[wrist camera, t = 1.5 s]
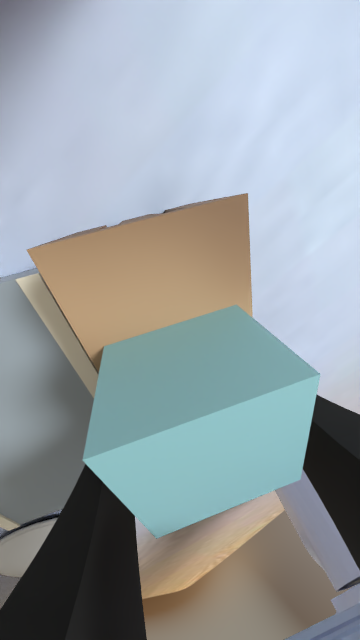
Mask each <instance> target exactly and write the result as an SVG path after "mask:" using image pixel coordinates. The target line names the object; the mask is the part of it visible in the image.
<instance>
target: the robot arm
mask: <svg viewBox="0 0 360 640" xmlns="http://www.w3.org/2000/svg"><path fill="white" fill-rule="evenodd" d="M275 492H276V493H277V495H278V497H279V499H280V501H281V503H282V505H283V507H284V509H285V510H286V512H287V514H288V516H289V518H290V520H291V522H292V524H293V525H294V527H295V529H296V531H297V533H298V535H299V536H300V538H301V540H302V542H303V544H304V546H305V547H306V549H307V551H308V552H309V553H310V555H311V556H312V558H313V559H314V560H315V561H316V562H317V563H318V564H319V565H320V566H321V567H322V568H323V569H324V570H325V572H326V574H327V576H328V578H329V579H330V581H331V583H332V585H333V587H334V588H335V590H336V592H339V591H342V590H345V589H347V588H350V587H352V586H354V587H352V588H351V589H349V590H348V591H346V592H344V593H342V594H341V595H339V596H337V597H335V598H333V599H332V600H331V602H332V604H333V605H334V607H335V609H336V614H335V615H333V616H331V617H329V618H327V619H325V620H323V621H321V622H319V623H317V624H315V625H313V626H311V627H309V628H307V629H305V630H303V631H301V632H299V633H297V634H295V635H293V636H290V637H289V638H286V639H284V640H360V584H359V583H360V415H359V414H357V413H355V412H352V411H350V410H348V409H345V408H343V407H341V406H339V405H337V404H335V403H332V402H330V401H328V400H326V399H324V398H322V397H320V396H318V395H317V394H316V400H315V405H314V410H313V416H312V421H311V426H310V432H309V437H308V442H307V448H306V453H305V458H304V463H303V469H302V474H301V479H300V480H298V481H296V482H293V483H291V484H289V485H286V486H284V487H281V488H279V489H276V490H275ZM357 584H358V585H357ZM355 585H356V586H355ZM0 640H147V639H146V630H145V622H144V613H143V605H142V595H141V585H140V575H139V564H138V553H137V541H136V527H135V515H134V514H133V513H132V512H131V511H130V510H129V509H128V508H127V507H126V506H125V505H124V504H123V503H122V502H121V500H120V499H119V498H118V497H117V496H116V495H115V494H114V493H113V492H112V491H111V490H110V489H109V488H108V487H107V486H106V485H105V484H104V482H103V481H102V480H101V479H100V478H99V477H98V476H97V475H96V474H95V473H94V472H93V471H92V470H91V469H90V468H89V467H88V466H87V465H86V464H85V466H84V468H83V470H82V472H81V474H80V476H79V478H78V481H77V483H76V485H75V487H74V489H73V491H72V493H71V495H70V496H69V498H68V500H67V502H66V504H65V506H64V508H63V509H62V511H61V513H60V515H59V517H58V519H57V520H56V522H55V524H54V525H53V527H52V529H51V531H50V532H49V534H48V536H47V537H46V539H45V541H44V543H43V544H42V546H41V547H40V549H39V551H38V552H37V554H36V556H35V557H34V559H33V560H32V562H31V563H30V565H29V567H28V568H27V570H26V571H25V573H24V574H23V576H22V577H21V579H20V580H19V582H18V584H17V585H16V587H15V588H14V590H13V591H12V593H11V594H10V596H9V597H8V599H7V600H6V602H5V603H4V605H3V606H2V608H1V609H0Z"/></svg>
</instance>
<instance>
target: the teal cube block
mask: <svg viewBox="0 0 360 640" xmlns="http://www.w3.org/2000/svg"><path fill="white" fill-rule="evenodd" d="M319 378H320V373H318V372H317V371H316V370H315V369H314V368H312V367H311V366H310V365H309V364H308V363H306V362H305V361H304V360H303V359H301V358H300V357H299V356H298V355H297V354H295V353H294V352H293V351H292V350H291V349H289V348H288V347H287V346H286V345H285V344H283V343H282V342H281V341H280V340H279V339H277V338H276V337H275V336H274V335H273V334H271V333H270V332H269V331H268V330H267V329H265V328H264V327H263V326H262V325H261V324H259V323H258V322H257V321H256V320H255V319H253V318H252V317H251V316H250V315H249V314H247V313H246V312H245V311H244V310H242V309H241V308H240V307H239V306H238V305H233V306H230V307H227V308H224V309H221V310H218V311H214V312H211V313H208V314H205V315H202V316H199V317H195V318H192V319H189V320H186V321H183V322H180V323H176V324H173V325H170V326H167V327H164V328H161V329H157V330H154V331H151V332H148V333H145V334H142V335H138V336H135V337H132V338H129V339H126V340H123V341H119V342H116V343H113V344H110V345H107V346H104V349H103V354H102V360H101V365H100V370H99V376H98V381H97V386H96V392H95V397H94V402H93V407H92V413H91V418H90V423H89V429H88V434H87V439H86V445H85V450H84V455H83V461H84V462H85V463H86V465H87V466H88V467H89V468H90V469H91V470H92V471H93V472H94V473H95V474H96V475H97V476H98V477H99V478H100V479H101V480H102V481H103V482H104V484H105V485H106V486H107V487H108V488H109V489H110V490H111V491H112V492H113V493H114V494H115V495H116V496H117V497H118V498H119V499H120V500H121V502H122V503H123V504H124V505H125V506H126V507H127V508H128V509H129V510H130V511H131V512H132V513H133V514H134V515H135V516H136V517H137V518H138V520H139V521H140V522H141V523H142V524H143V525H144V526H145V527H146V528H147V529H148V530H149V531H150V532H151V533H152V534H153V535H154V536H155V538H156V539H157V538H159V537H162V536H164V535H167V534H169V533H172V532H174V531H176V530H179V529H181V528H184V527H186V526H189V525H191V524H193V523H196V522H198V521H201V520H203V519H206V518H208V517H211V516H213V515H215V514H218V513H220V512H223V511H225V510H228V509H230V508H232V507H235V506H237V505H240V504H242V503H245V502H247V501H250V500H252V499H254V498H257V497H259V496H262V495H264V494H267V493H269V492H271V491H274V490H276V489H279V488H281V487H284V486H286V485H289V484H291V483H293V482H296V481H298V480H300V479H301V474H302V469H303V463H304V458H305V453H306V448H307V442H308V437H309V432H310V426H311V421H312V416H313V410H314V405H315V400H316V394H317V389H318V384H319Z"/></svg>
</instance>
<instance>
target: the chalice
mask: <svg viewBox="0 0 360 640" xmlns="http://www.w3.org/2000/svg"><path fill="white" fill-rule="evenodd" d="M57 519H58V518H54V519H50V520H46V521H42V522H38V523H35V524H32V525H30V526H27V527H24V528H21V529H19V530H17V531H15V532H13V533H11V534H9V535H7V536H5V537H4V538H2V539H1V540H0V574H1V575H4V576H10V577H22V576H23V574H24V573H25V571H26V570H27V568H28V567H29V565H30V563H31V562H32V560H33V559H34V557H35V556H36V554H37V552H38V551H39V549H40V547H41V546H42V544H43V543H44V541H45V539H46V537H47V536H48V534H49V532H50V531H51V529H52V527H53V525H54V524H55V522H56V520H57Z"/></svg>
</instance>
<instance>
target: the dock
mask: <svg viewBox="0 0 360 640" xmlns="http://www.w3.org/2000/svg"><path fill="white" fill-rule="evenodd" d="M98 376H99V373H98V371H97V369H96V368H95V366H94V364H93V363H92V361H91V359H90V357H89V356H88V354H87V352H86V351H85V349H84V347H83V345H82V344H81V342H80V340H79V339H78V337H77V335H76V334H75V332H74V330H73V328H72V327H71V325H70V323H69V322H68V320H67V318H66V316H65V315H64V313H63V311H62V310H61V308H60V306H59V304H58V303H57V301H56V299H55V298H54V296H53V294H52V293H51V291H50V289H49V287H48V286H47V284H46V282H45V281H44V279H43V277H42V275H41V274H40V272H39V270H38V269H37V268H36V269H32V270H28V271H24V272H21V273H17V274H13V275H9V276H6V277H2V278H0V527H1V528H3V529H5V530H7V531H10V530H12V529H15V528H17V527H20V525H21V524H24V523H26V522H29V521H32V520H34V519H37V518H40V517H42V516H45V515H48V514H50V513H53V512H56V511H58V510H61V509H63V508H64V506H65V504H66V502H67V500H68V498H69V496H70V495H71V493H72V491H73V489H74V487H75V485H76V483H77V481H78V478H79V476H80V474H81V472H82V470H83V468H84V466H85V464H86V463H85V462H84V461H83V455H84V450H85V445H86V439H87V434H88V429H89V423H90V418H91V413H92V407H93V402H94V397H95V392H96V386H97V381H98Z"/></svg>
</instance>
